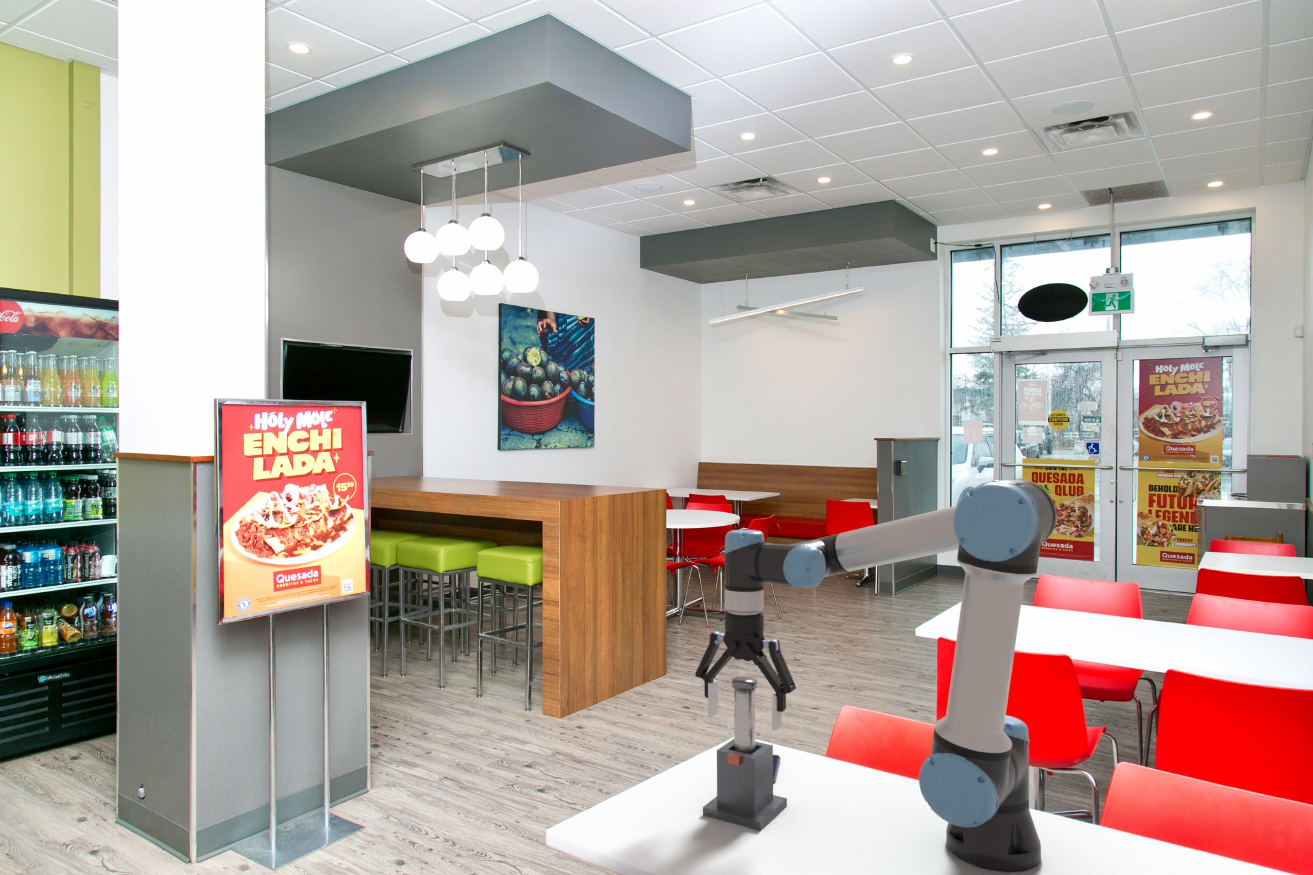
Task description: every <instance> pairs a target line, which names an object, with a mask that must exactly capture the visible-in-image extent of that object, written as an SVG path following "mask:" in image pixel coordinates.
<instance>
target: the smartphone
mask: <svg viewBox="0 0 1313 875" xmlns="http://www.w3.org/2000/svg"><path fill="white" fill-rule="evenodd" d="M780 761H781V756H780V755H778V754H773V785H774V784H776V781H777V777H778V771H779V767H780V765H781V762H780Z"/></svg>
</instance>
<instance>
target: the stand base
mask: <svg viewBox="0 0 1313 875" xmlns="http://www.w3.org/2000/svg"><path fill="white" fill-rule="evenodd" d="M755 750H756V751H755V752H754V753H753V754H746V753H742V752H737V751H735V737H734V738H733V739H731V740H730V741H728V742H727V743H725V744H724V745H723V746H721V747H720V748H718V749H716V796H715V797H714V798H712V799H711V800H710V801H709V802H707V803H706V804H705V805H703V806H702V816H705V817H709V818H711V819H717V820H719V821H723V822H726V823H727V822H728V823H731V824H734V825H738V826H742V827H745V828H749V829H753V830H756V831H760V832H761V831H762V830H763V829H764V828H765V827H766V826H767V825H769V824H770V822H772V821H773V820H774V819H775V818H776V817H777V816H778V815H779V814H780V813H781V812H782V811H783V810H784V809H786V808H787V807H788V798H787V797H783V796H778V795H776V794H774V784H773V755H774V745H772V744H768V743H764V742H758V741H755Z"/></svg>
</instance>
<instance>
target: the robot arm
mask: <svg viewBox="0 0 1313 875" xmlns="http://www.w3.org/2000/svg"><path fill="white" fill-rule="evenodd" d="M1047 491H1048V490H1045V489H1044V487H1042V486H1040V485H1039V484H1038V483H1035V482H1032V481H1030V480H1026V479H1019V478H1018V479H1017V478H1015V479H1013V478H1012V479H1007V480H990V481H987V482H984V483H983V482H982V483H979V485H977V486H975V487H973V488H971V489H970V490H969V491H968V492H966V494H964V495H963V496H962V497H961V499H960V500H959V502H958V503H957V505H954V506H949V507H946V508H941V509H937V510H934V511H928V512H925V513H921V514H916V515H912V516H907V517H904V518H900V519H895V520H891V521H886V522H883V523H879V524H878V523H877V524H874V525H869V526H866V527H862V528H858V529H853V530H848V531H845V532H840V533H838V534H832V535H829V536H824V537H819V538H816V539H811V540H805V541H800V542H796V543H790V544H785V543H771V542H765V536H764V533H763V531H761V530H756V529H732V530H729V531H728V532H727V533H726V535H725V538H724V539H725V540H724V552H723V557H724V609H725V610H726V611H725V612H724V630H725V633H722V632H721V631H720V630H715V631H713V632H711V633H710V635H709V641H708V643H709V644H708V645H707V648H706V650H705V652H704V655H703V656H702V659H701V661H700V663H699V665H698V667H697V670H696V672H695V677H696V678H699V679H702V680H703V682H704V696H705V698H707V717H709V718H713V717H715V716H716V715H718V714H719V680H717V679H716V677H717V675H718V674H719V673H720V672H722V670H723V668H724V667H725V666H726V665H727V664H728V663H729V661H730V660H731V659H732V658H734V660H743V661H746V662H751V661H752V663H753V664H754V665H755V666H756V667H758V669H759V671H760V672H761V673H762V674H763V676H764V677H765V680H767V682H768V684H769V685H770V686H771V688H772V690H773V691H774V693H773V694H771V730H773V731H777V730H778V729H780V728H782V726H783V725H782V724H783V722H782V720H783V719H782V718H783V716H782V712H783V713H784V711H786V710H787V694H791V693H792V692H793V691H795V690H796V688H797V686H796V684H795V680H794V679H793V677H792V674H791V672H790V670H789V668H788V667H789V666H788V665H787V663H786V661H785V658H784V656H783V654H782V651H781V644H780V640H779V639H778V638H774V639H765V637H764V631H765V624H764V623H765V618H764V616H765V614H764V612H763V610H764V608H765V607H764V606H765V605H764V604H765V602H764V601H765V600H764V599H765V598H764V593H765V592H764V588H765V586H764V584H773V585H782V586H788V587H795V588H797V589H798V588H799V589H802V588H806V589H807V588H808V589H814V588H816V587H818V586H820V584H821V582H822V581H823V580H824V578H826V577H827V578H828V577H830V576H835V575H841V574H845V573H849V572H853V571H860V570H863V569H869V568H875V567H879V566H883V565H888V564H893V563H899V562H904V561H909V560H914V559H918V558H922V557H926V556H927V557H928V556H933V555H938V554H939V555H940V554H942V553H943V554H944V553H948V552H953V551H954V552H955V551H957V556H956V558H957V559H956V561H957V562H958V564H959V565H960V566H961V568H962V569H963V570H964V574H965V576H964V581H963V582H964V583H963V588H962V589H963V590H962V596H961V597H962V598H961V603H960V604H961V606H960V611H959V620H958V626H957V634H956V641H955V649H954V655H953V662H952V663H953V664H952V671H951V678H950V683H949V684H950V686H949V692H948V700H947V707H946V714H945V716H943V717H942V718H940V719H938V720H937V721H936V722H935V724H934V729H933V736H932V743H931V749H930V755H929V756H928V757H926V759H925V760H924V762H923V763H922V766H921V767H920V770H919V775H918V784H919V785H918V786H919V789H920V792H921V795H922V797H923V799H924V801H925V802H926V803H927V805H928V806H929V807H930V809H931V810H932V812H934V814H936V815H937V817H939V818H941V820H943V821H945V822H947V826H946V835H945V836H946V839H945V840H946V841H945V842H946V846H947V848H948V849H949V850H950V851H951V853H953V854H954V855H955V856H956V857H959V859H962V860H964V861H965V862H967V863H970V864H972V865H975V866H979V867H982V868H985V869H990V870H995V871H1005V872H1014V871H1015V872H1018V871H1019V872H1020V871H1025V870H1029V869H1032V868H1034V867H1036V866H1038V865H1039V864H1040V862H1041V859H1042V845H1041V840H1040V838H1039V835H1038V832H1037V828H1036V826H1035V823H1034V820H1033V818H1032V814H1031V812H1030V776H1029V775H1030V758H1029V757H1030V750H1029V749H1030V748H1029V745H1030V738H1029V728H1028V726H1027V724H1026V723H1025V722H1024V721H1023V720H1021V719H1019V718H1017V717H1014V716H1010V715H1007V714H1006V713H1007V708H1008V707H1007V706H1008V699H1009V694H1010V693H1009V692H1010V685H1011V677H1012V672H1013V665H1014V656H1015V649H1016V641H1017V637H1018V628H1019V621H1020V614H1021V607H1022V601H1023V594H1024V586H1025V583H1026V582H1027V581H1028V580H1030V579H1032V578H1033V577H1035V576H1037V571H1038V565H1039V559H1040V552H1041V545H1042V544H1044V543H1045V542H1046V541H1047V540H1048V539H1049V538H1050V536H1051V535H1052V534H1053V533H1054V530H1055V529H1056V528H1055V527H1056V525H1057V517H1058V513H1057V507H1056V504H1055V502H1054V499H1053V497H1052V496H1051V495H1050V494H1049V492H1047ZM723 642H724V644H725V647H726V649H725V650H724V652H723V653H722V654H721V656H720V657H719V658H718V660H717V661H716V662H715V663H714V664H713V666H712V667H711V668H710V666H711V664H712V662H713V661H714V658H715V656H716V653H718V652H717V651H718V649H719V648H720V645H721V644H722V643H723ZM765 648H766V651H767V652H769V653H768V654H769V657H770V659H771V662H772V663H773V666H772V664H771V663H770V662H769V659H768V656H767V655H766V654H765V652H764V651H763V650H764V649H765ZM774 668H775V669H774Z"/></svg>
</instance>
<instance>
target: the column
mask: <svg viewBox="0 0 1313 875" xmlns="http://www.w3.org/2000/svg"><path fill="white" fill-rule="evenodd" d="M731 682H732V683H731V687H732V688H733V692H734V693H733V694H734V697H733V698H734V699H733V700H734V702H733V704H734V708H733V709H734V715H733V716H734V718H733V720H734V726H733V727H734V728H733V729H734V738H735V751H737V752H742V753H746V754H753V753H754V752H755V751H756V750H755V742H756V688H758V679H757V678H756V677H752V676H746V675H745V676H741V675H740V676H735V677H733V678H732V679H731Z"/></svg>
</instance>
